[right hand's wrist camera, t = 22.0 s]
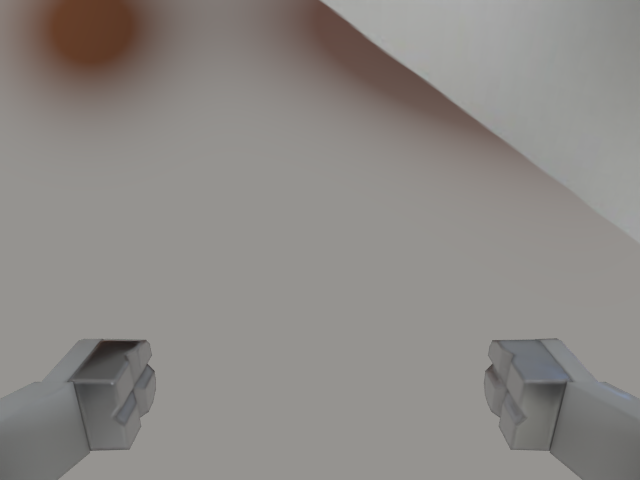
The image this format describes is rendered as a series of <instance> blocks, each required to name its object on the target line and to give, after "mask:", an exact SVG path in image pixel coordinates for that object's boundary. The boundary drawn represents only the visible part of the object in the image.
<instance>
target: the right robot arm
mask: <svg viewBox="0 0 640 480" xmlns="http://www.w3.org/2000/svg"><path fill="white" fill-rule="evenodd" d="M151 356H152V353H151V348H150V344H149V342H148V341H147V340H132V339H83V340H79V341H78V342H77V343H76V344H75V345H74V346H73V347H72V349H71V350H70V351H69V352H68V353H67V354H66V355H65V356H64V358H63V359H62V360H61V361H60V362H59V363H58V364H57V365H56V366H55V367H54V369H53V370H52V371H51V372H50V373H49V374H48V375H47V376H46V377H45V379H44V380H43V381H42V382H34V383H31V384H29V385H27V386H25V387H23V388H21V389H19V390H17V391H15V392H13V393H11V394H9V395H7V396H5V397H3V398H1V399H0V480H58V479H59V478H60V477H61V476H63V475H64V474H65V473H66V472H68V471H69V470H70V469H71V468H72V467H73V466H75V465H76V464H77V463H78V462H80V461H81V460H82V459H83V458H84V457H86V456H87V455H88V454H89V453H90V451H96V450H129V449H130V447H131V445H132V444H133V442H134V440H135V438H136V436H137V434H138V432H139V430H140V428H141V422H140V417H142V416H143V415H145V414H146V413H147V412H149V410H150V408H151V405H152V403H153V400H154V395H155V391H156V378H155V371H154V370H153V369H152V368H151V367H150V366H149V365H148V364H147V363H148V361H149V359H150V358H151ZM488 356H489V358H490V359H491V361H492V363H493V364H492V365H491V366H490V367H489V368H488V369H487V370H486V371H485V379H484V389H485V396H486V400H487V403H488V405H489V408H490V410H491V411H492V412H493V413H494V414H496V415H497V416H499V417H500V422H499V428H500V430H501V432H502V434H503V436H504V437H505V439H506V442H507V443H508V445H509V447H510V449H511V450H543V451H550V453H551V454H552V455H553V456H555V457H556V458H557V459H558V460H559V461H561V462H562V463H563V464H564V465H565V466H567V467H568V468H569V469H570V470H571V471H573V472H574V473H575V474H576V475H578V476H579V477H580V478H581V479H582V480H640V399H639V398H637V397H635V396H633V395H631V394H629V393H627V392H625V391H623V390H621V389H619V388H617V387H615V386H613V385H611V384H609V383H606V382H598V381H597V380H596V379H595V378H594V376H593V375H592V374H591V373H590V372H589V371H588V370H587V369H586V367H585V366H584V365H583V364H582V363H581V362H580V361H579V360H578V359H577V357H576V356H575V355H574V354H573V353H572V352H571V351H570V350H569V349H568V347H567V346H566V345H565V344H564V343H563V342H562V341H561V340H559V339H535V340H493V341H492V342H491V345H490V347H489V353H488Z"/></svg>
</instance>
